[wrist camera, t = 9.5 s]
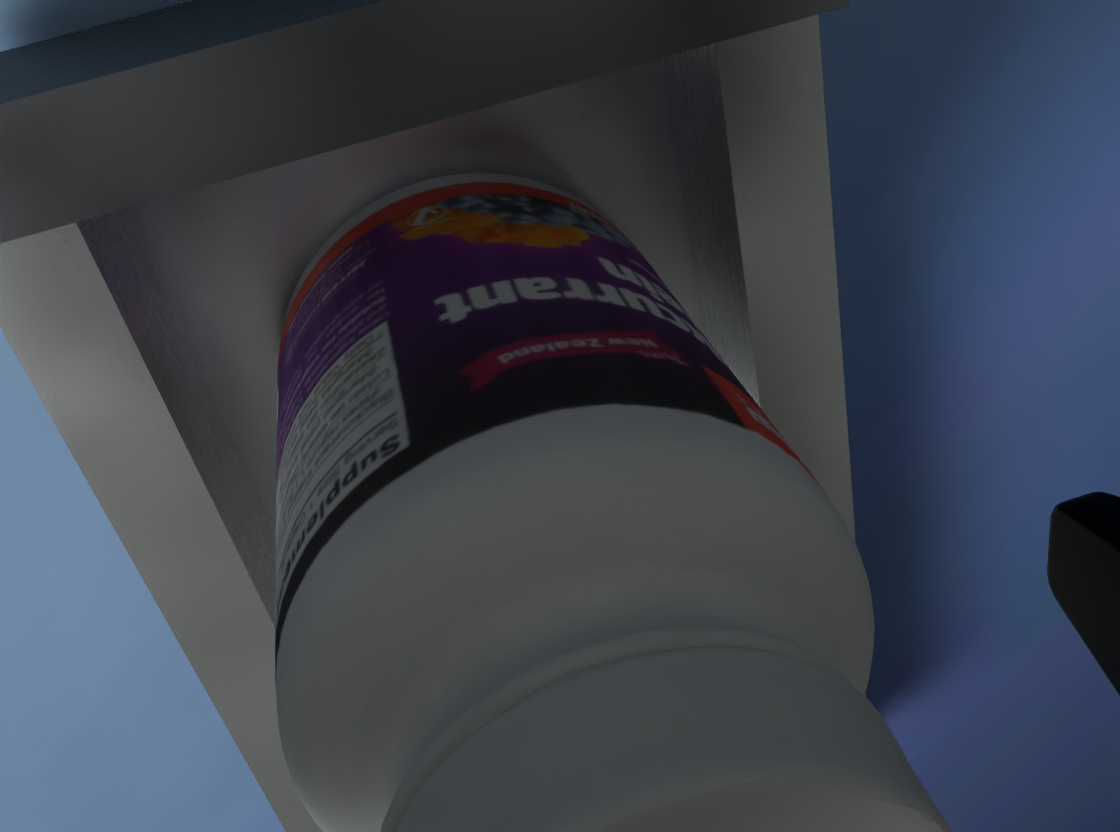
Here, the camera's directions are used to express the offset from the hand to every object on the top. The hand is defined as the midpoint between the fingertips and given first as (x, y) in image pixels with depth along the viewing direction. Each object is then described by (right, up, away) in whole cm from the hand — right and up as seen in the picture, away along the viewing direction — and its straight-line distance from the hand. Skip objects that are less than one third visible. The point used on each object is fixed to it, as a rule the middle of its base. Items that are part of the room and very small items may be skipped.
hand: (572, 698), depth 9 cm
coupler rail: (-1, +1, +9) cm, 9 cm away
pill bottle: (-1, +4, +6) cm, 7 cm away
